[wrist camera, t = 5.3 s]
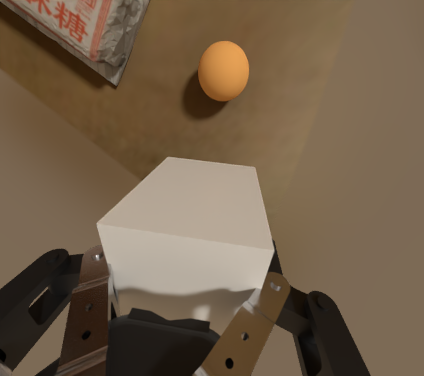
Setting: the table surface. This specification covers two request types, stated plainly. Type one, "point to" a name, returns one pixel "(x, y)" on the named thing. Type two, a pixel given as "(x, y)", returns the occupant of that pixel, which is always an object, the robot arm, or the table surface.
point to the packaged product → (88, 28)
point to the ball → (223, 71)
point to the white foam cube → (189, 241)
